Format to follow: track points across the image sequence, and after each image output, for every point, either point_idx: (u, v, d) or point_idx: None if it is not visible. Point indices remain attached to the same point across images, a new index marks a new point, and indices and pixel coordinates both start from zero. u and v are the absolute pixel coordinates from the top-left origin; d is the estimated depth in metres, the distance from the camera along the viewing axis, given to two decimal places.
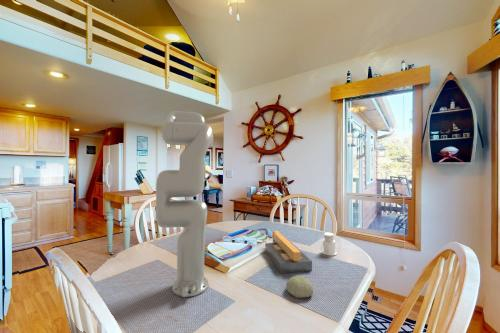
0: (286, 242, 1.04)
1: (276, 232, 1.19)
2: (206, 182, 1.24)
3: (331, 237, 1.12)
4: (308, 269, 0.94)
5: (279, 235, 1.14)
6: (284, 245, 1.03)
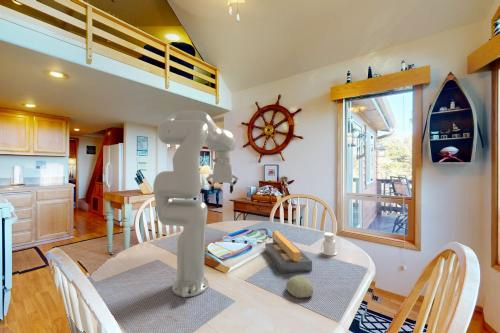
0: (286, 242, 1.04)
1: (276, 232, 1.19)
2: (232, 187, 1.20)
3: (331, 237, 1.12)
4: (308, 269, 0.94)
5: (279, 235, 1.14)
6: (284, 245, 1.03)
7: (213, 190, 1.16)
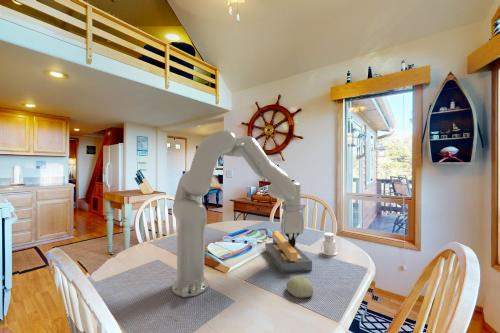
0: (284, 242, 1.04)
1: (276, 232, 1.19)
2: None
3: (331, 237, 1.12)
4: (308, 269, 0.94)
5: (278, 235, 1.14)
6: (282, 245, 1.03)
7: (292, 244, 1.03)
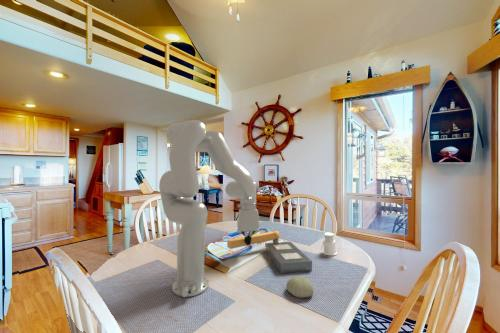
0: None
1: (273, 232, 1.19)
2: (250, 238, 1.06)
3: (331, 237, 1.12)
4: (308, 269, 0.94)
5: (266, 233, 1.17)
6: None
7: (247, 242, 1.05)
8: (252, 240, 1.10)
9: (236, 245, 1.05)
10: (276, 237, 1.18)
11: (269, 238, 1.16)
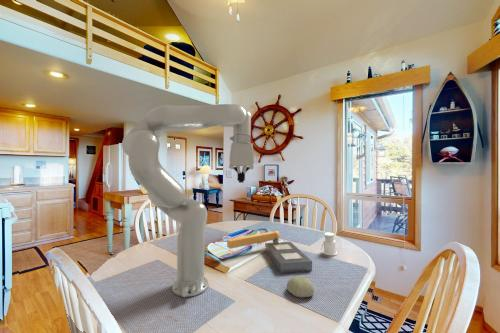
0: (249, 236, 1.12)
1: (273, 232, 1.19)
2: (244, 175, 0.95)
3: (331, 237, 1.12)
4: (308, 269, 0.94)
5: (266, 233, 1.17)
6: None
7: (240, 178, 0.94)
8: (252, 240, 1.10)
9: (236, 244, 1.06)
10: (276, 237, 1.18)
11: (269, 238, 1.16)
